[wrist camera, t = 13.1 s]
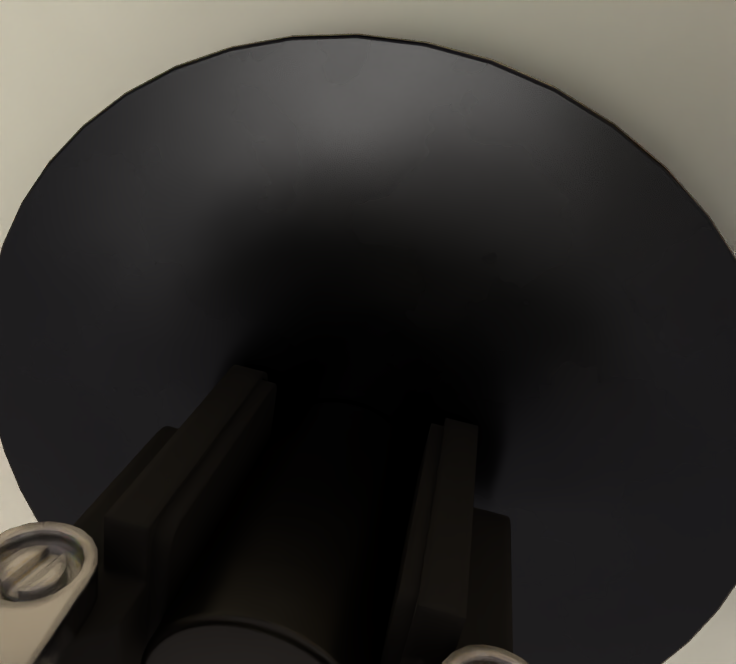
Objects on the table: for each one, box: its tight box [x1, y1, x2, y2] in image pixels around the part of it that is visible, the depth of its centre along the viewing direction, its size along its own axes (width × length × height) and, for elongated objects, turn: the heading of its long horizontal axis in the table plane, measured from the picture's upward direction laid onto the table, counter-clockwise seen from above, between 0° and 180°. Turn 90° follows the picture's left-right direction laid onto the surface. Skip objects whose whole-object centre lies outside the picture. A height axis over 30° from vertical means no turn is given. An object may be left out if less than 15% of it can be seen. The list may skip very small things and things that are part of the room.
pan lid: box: [0, 34, 736, 664], centre depth 9 cm, size 13×13×6 cm
